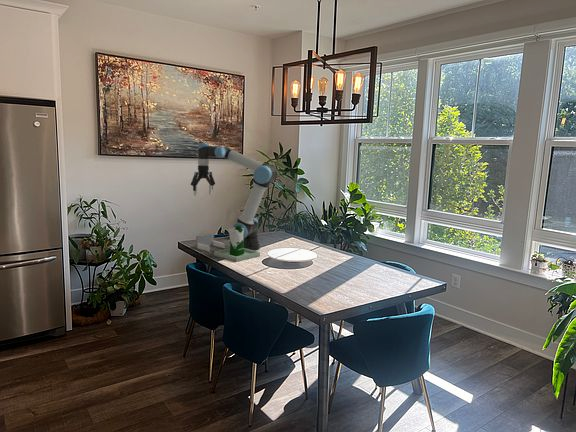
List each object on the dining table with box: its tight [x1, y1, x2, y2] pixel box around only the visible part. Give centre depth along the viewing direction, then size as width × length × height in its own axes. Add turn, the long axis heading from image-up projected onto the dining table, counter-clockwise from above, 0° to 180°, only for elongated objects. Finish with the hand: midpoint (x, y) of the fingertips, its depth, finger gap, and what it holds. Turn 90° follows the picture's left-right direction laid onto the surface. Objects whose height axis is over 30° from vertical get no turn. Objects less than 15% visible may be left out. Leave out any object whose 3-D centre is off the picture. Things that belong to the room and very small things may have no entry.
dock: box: [195, 233, 226, 252], centre depth 306 cm, size 14×15×9 cm
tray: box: [213, 247, 261, 263], centre depth 286 cm, size 22×22×3 cm
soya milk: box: [228, 225, 244, 256], centre depth 285 cm, size 9×9×20 cm
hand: (203, 195), depth 300 cm, fingers open, 13 cm apart
